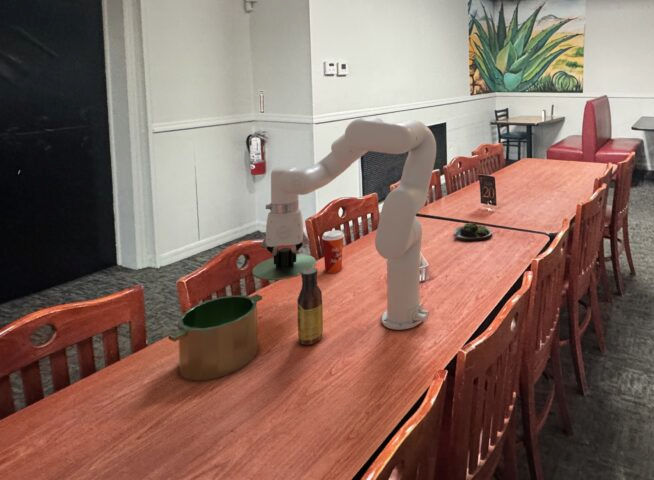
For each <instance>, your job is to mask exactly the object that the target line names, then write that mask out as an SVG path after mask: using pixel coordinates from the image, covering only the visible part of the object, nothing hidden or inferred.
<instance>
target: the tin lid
mask: <svg viewBox="0 0 654 480" xmlns="http://www.w3.org/2000/svg"><path fill="white" fill-rule="evenodd" d="M278 250H279V267H278V268H276V264H274V257H271V258H268V259H266V260H263V261H261V262H259V263H258V264H257V265H255V266H254V267H253V269H252V276H253V277H254V278H256V279H258V280H260V281H261V280H263V281H281V280H282V281H283V280H289V279H293V278H296V277H299V276H301V273H302V271H303V270H304V269H307V268H312V267H313V268H316V266H317V259H316V258H315V257H314V256H312V255H309V254H305V253H304V254H303V253H296V262H294V265H293V266H291V251H292V247H282V248H279V249H278Z"/></svg>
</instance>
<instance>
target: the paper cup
mask: <svg viewBox="0 0 654 480" xmlns="http://www.w3.org/2000/svg"><path fill="white" fill-rule="evenodd" d="M344 237H345V234H344V232H343V231H342V230H339V229H334V230H333V229H332V230H328V231H325V232H323V234H322V237H321V240H322V245H323V260H324V270H325V273H327V274H336V273H339V272H340V271H342V267H343V266H342V262H343V248H344V247H343V246H344Z"/></svg>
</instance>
